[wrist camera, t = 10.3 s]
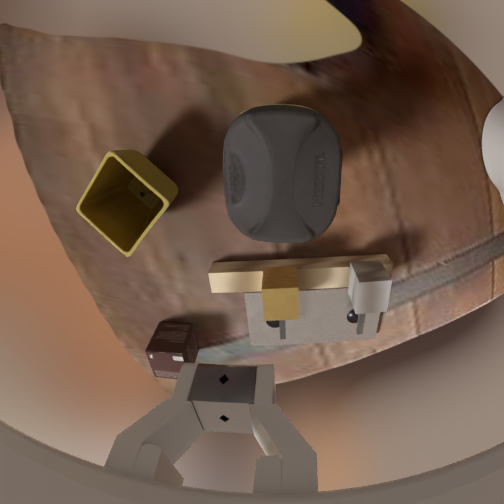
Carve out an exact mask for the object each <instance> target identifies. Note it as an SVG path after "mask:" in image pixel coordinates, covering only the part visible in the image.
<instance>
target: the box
mask: <svg viewBox="0 0 504 504" xmlns="http://www.w3.org/2000/svg"><path fill="white" fill-rule="evenodd" d="M145 352H146V355H147V357H148V360H149V363H150V365H151V368H152V371H153V373H154V376H155V377H163V378H171V379H178V376H179V373H180V370H181V367H182V365H183V364H184V363H195V360H196V357H197V353H198V345H197V340H196V336H195V331H194V326H193V324H185V323H167V322H159V324H158V326H157V328H156V330H155V332H154V334H153V336H152V338H151V340H150V342H149V344H148V346H147V349H146V350H145Z"/></svg>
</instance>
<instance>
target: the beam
mask: <svg viewBox="0 0 504 504" xmlns="http://www.w3.org/2000/svg"><path fill="white" fill-rule="evenodd" d="M280 266H296V269H297V278H298V290H305V289H323V288H340V287H348V293H349V296H350V299H351V302H352V305H353V308H354V311H355V314H358V321H357V328H356V333H357V335H359V334H363V328H364V322H365V316H366V313H376V312H386V311H387V307H388V302H389V296H390V290H391V284H392V279H391V276H392V269H393V263H392V262H391V260H390V259H389V257H388V256H387V254H377V255H358V256H339V257H319V258H299V259H278V260H256V261H234V262H213V263H212V266H211V268H210V270H209V273H208V274H209V279H210V285H211V290H212V293H224V292H258V291H262V290H261V289H262V278H263V268H264V267H280Z"/></svg>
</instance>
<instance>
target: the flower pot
mask: <svg viewBox="0 0 504 504" xmlns="http://www.w3.org/2000/svg"><path fill="white" fill-rule="evenodd" d="M142 192H144V194H145V195H144V196H142V195H141V193H142ZM177 194H178V187H177V185H176V184H175V183H174V182H173V181H172V180H171V179H170V178H169V177H167V176H166V175H165V174H164V173H163V172H162V171H161V170H159V169H158V168H157V167H156V166H155V165H154V164H153V163H152V162H150V161H149V160H148V159H147V158H146V157H145V156H144V155H142V154H141V153H139V152H137V151H135V150H115V151H109V152H108V153H107V154H106V156H105V158H104V159H103V161H102V163H101V164H100V166H99V168H98V170H97V171H96V173H95V175H94V177H93V179H92V180H91V182H90V184H89V186H88V187H87V189H86V191H85V192H84V194H83V196H82V198H81V199H80V201H79V203H78V205H77V208H76V210H77V212H78V213H79V214H80V215H81V216H82V217H83V218H84V219H86V220H87V221H88V222H89V223H90V224H91V225H92V226H93V227H94V228H95V229H96V230H97V231H99V232H100V233H101V234H102V235H103V236H104V237H105V238H106V239H107V240H108V241H110V242H111V243H112V244H113V245H114V246H115V247H116V248H117V249H118V250H119V251H120V252H122V253H123V254H124V255H126V256H127V257H129V256H131V255H132V253H133V252H134V250H135V249H136V248H137V246H138V245H139V243H140V242H141V241H142V239H143V238H144V237H145V236H146V234H147V233H148V232H149V230H150V229H151V228H152V227H153V225H154V224H155V223H156V221H157V220H158V219H159V218H160V217H161V215H162V214H163V213H164V212H165V211H166V209H167V208H168V207H169V206H170V204H171V203H172V201H173V200H174V199H175V197H176V196H177Z"/></svg>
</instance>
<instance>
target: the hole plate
mask: <svg viewBox="0 0 504 504" xmlns="http://www.w3.org/2000/svg"><path fill="white" fill-rule="evenodd" d="M298 292H299V320H285V326H286V339H280V327H279V320H276V321H264V312H263V301H262V291H258V292H245V293H244V294H245V302H246V310H247V318H248V326H249V333H250V341H251V345H288V344H309V343H326V342H339V341H351V340H362V339H371V338H375V337H376V332H377V327H378V322H379V316H380V312H376V313H366V316H365V322H364V328H363V334H359V335H357V333H356V328H357V321H358V314H355V311H354V308H353V305H352V302H351V299H350V296H349V293H348V287H340V288H323V289H305V290H298Z"/></svg>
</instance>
